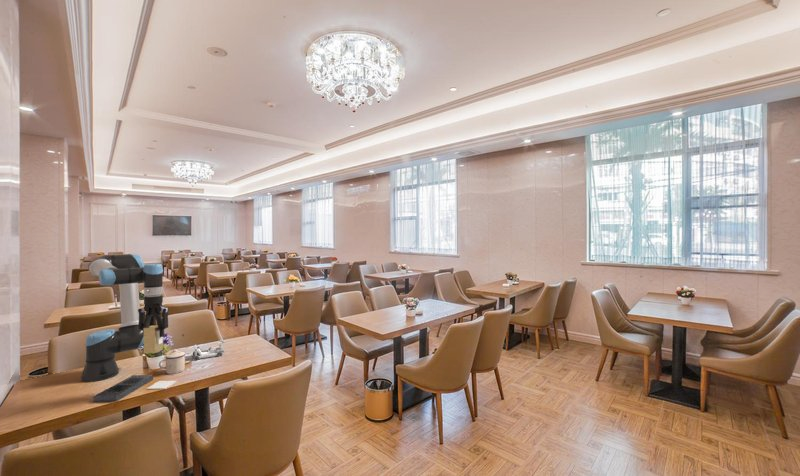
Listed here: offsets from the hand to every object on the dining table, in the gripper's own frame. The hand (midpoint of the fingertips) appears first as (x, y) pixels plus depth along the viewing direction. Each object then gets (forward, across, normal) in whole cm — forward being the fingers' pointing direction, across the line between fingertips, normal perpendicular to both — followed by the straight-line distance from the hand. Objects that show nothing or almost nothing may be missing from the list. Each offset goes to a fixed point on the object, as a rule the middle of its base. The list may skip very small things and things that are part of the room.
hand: (153, 343), depth 171 cm
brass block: (+4, 0, 0) cm, 4 cm away
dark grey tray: (+21, -12, -3) cm, 24 cm away
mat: (+21, +2, +3) cm, 22 cm away
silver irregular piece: (+22, +1, +47) cm, 52 cm away
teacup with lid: (+21, -4, +20) cm, 30 cm away
